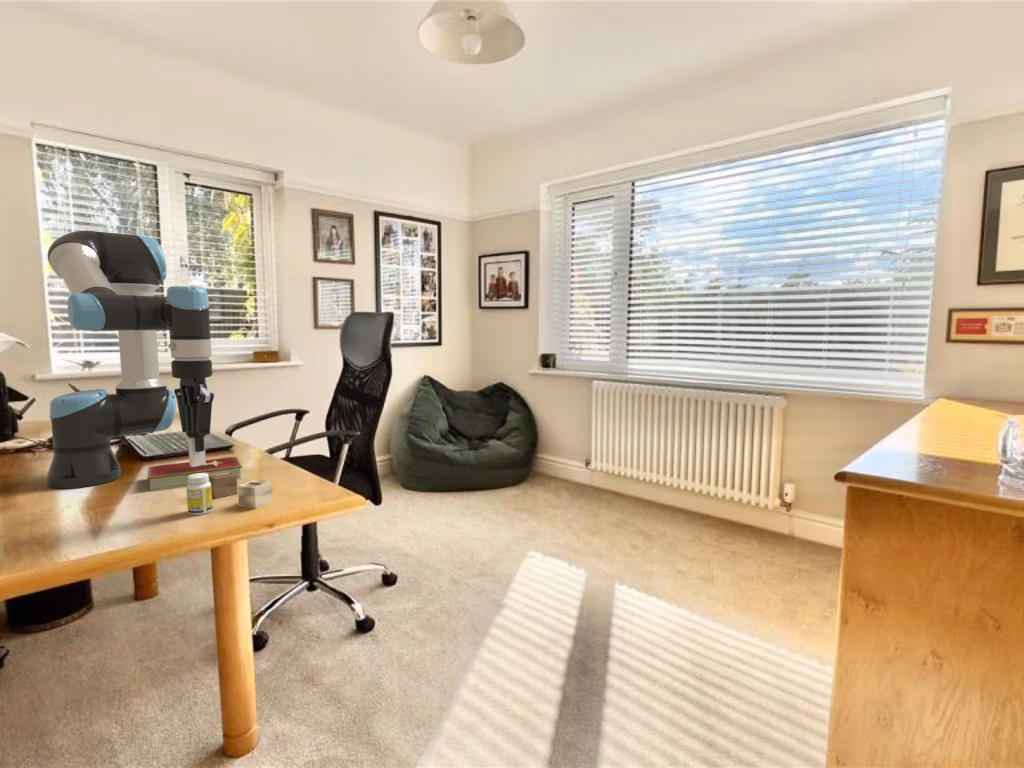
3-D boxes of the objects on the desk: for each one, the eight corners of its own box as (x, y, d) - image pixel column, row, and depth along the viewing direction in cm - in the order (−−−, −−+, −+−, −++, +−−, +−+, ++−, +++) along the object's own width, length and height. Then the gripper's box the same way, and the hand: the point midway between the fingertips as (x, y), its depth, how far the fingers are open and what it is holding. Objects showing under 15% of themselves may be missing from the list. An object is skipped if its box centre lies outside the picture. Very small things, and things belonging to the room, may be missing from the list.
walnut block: (208, 494, 130) (207, 474, 129) (230, 489, 133) (229, 470, 133) (215, 499, 126) (214, 478, 126) (237, 494, 130) (236, 474, 129)
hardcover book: (149, 480, 141) (148, 465, 140) (237, 469, 152) (236, 455, 152) (148, 493, 131) (147, 476, 130) (242, 480, 142) (242, 465, 142)
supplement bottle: (207, 506, 121) (205, 471, 120) (216, 511, 118) (214, 475, 117) (184, 512, 117) (182, 475, 116) (192, 517, 114) (190, 480, 113)
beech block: (238, 506, 122) (237, 485, 121) (256, 499, 126) (255, 479, 126) (255, 509, 120) (254, 487, 119) (272, 502, 125) (271, 481, 124)
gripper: (158, 358, 114) (165, 463, 117) (187, 361, 107) (194, 474, 110) (195, 356, 120) (201, 456, 123) (224, 359, 113) (230, 466, 116)
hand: (197, 465), depth 116 cm, fingers closed
